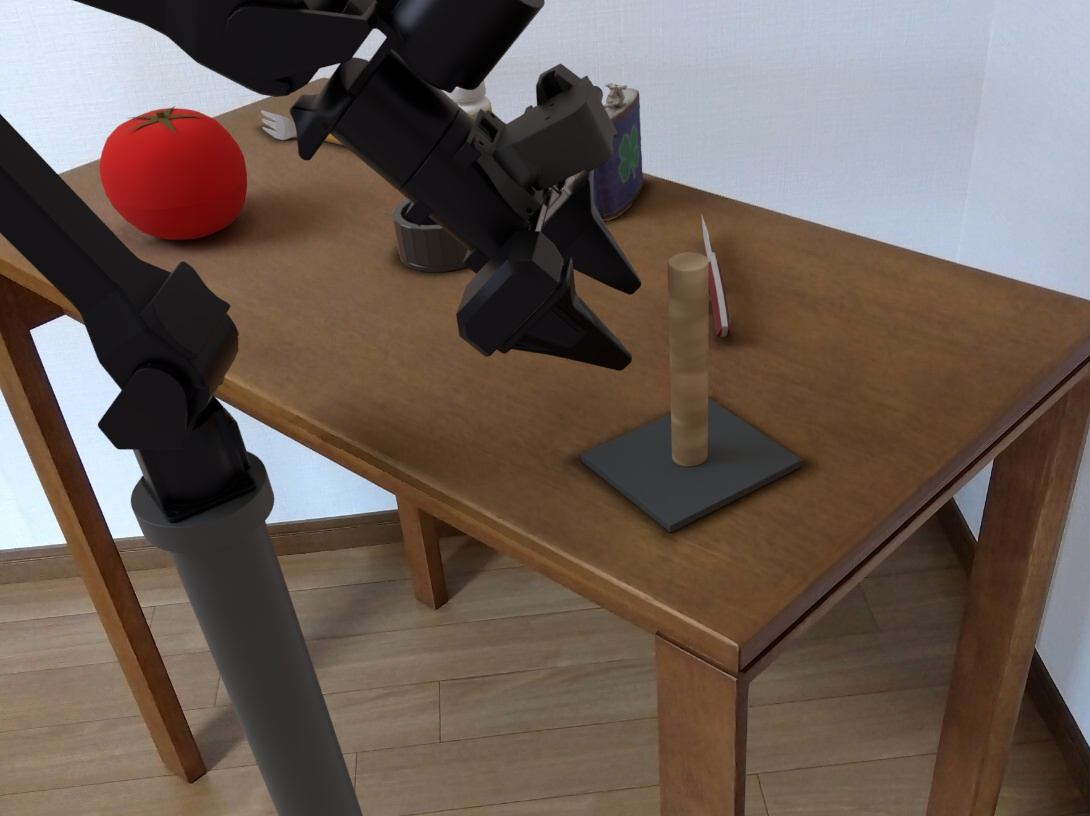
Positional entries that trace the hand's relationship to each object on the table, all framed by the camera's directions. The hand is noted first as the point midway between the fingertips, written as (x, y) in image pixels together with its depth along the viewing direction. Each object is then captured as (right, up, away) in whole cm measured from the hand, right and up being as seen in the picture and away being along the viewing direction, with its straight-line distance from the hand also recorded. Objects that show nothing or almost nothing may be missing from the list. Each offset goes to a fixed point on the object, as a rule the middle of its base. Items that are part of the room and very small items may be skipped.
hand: (632, 325), depth 70 cm
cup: (-16, +14, +33) cm, 39 cm away
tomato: (-41, +19, +40) cm, 60 cm away
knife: (+7, +9, +25) cm, 28 cm away
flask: (0, +21, +38) cm, 44 cm away
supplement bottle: (-15, +27, +47) cm, 56 cm away
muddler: (+4, -7, +6) cm, 10 cm away
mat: (+4, -8, +7) cm, 11 cm away
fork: (-32, +33, +54) cm, 71 cm away
